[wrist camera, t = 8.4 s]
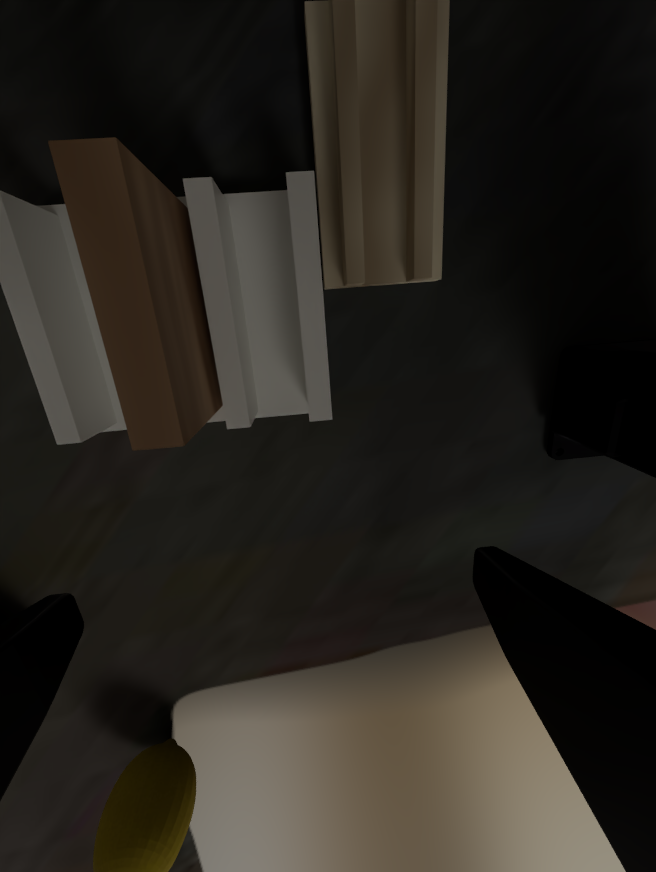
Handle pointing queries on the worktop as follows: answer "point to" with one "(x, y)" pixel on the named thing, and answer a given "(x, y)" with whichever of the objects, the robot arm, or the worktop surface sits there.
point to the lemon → (147, 812)
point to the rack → (223, 294)
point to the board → (141, 290)
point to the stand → (379, 137)
